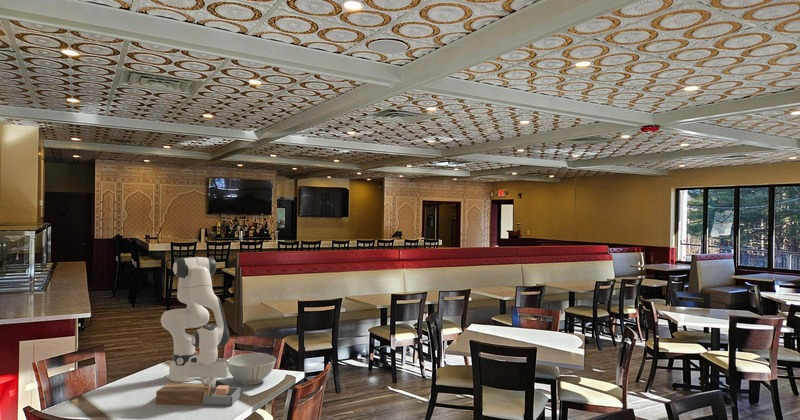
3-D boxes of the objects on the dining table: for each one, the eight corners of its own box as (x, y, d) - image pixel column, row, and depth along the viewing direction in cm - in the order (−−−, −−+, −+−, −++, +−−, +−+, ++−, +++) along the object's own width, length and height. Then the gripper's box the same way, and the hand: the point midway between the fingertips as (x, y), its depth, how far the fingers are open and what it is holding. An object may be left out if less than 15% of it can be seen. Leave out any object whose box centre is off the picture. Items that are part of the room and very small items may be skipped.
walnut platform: (168, 394, 270) (168, 382, 270) (211, 395, 270) (212, 383, 270) (155, 404, 256) (156, 391, 256) (201, 405, 256) (202, 392, 256)
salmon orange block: (219, 391, 265) (219, 385, 265) (229, 391, 265) (229, 385, 265) (215, 394, 260) (215, 388, 260) (225, 394, 260) (225, 388, 260)
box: (212, 395, 270) (213, 386, 270) (240, 396, 270) (240, 387, 270) (202, 405, 256) (202, 395, 256) (231, 406, 256) (231, 396, 256)
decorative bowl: (268, 390, 281) (268, 367, 281) (217, 388, 281) (218, 365, 281) (280, 375, 307) (281, 354, 308) (234, 373, 308) (235, 352, 308)
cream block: (225, 391, 265) (225, 397, 265) (215, 391, 265) (215, 397, 265) (222, 394, 260) (222, 400, 260) (212, 394, 260) (212, 400, 260)
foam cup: (198, 392, 274) (198, 367, 274) (199, 387, 282) (200, 362, 283) (217, 391, 276) (218, 366, 276) (218, 386, 285) (219, 361, 285)
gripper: (231, 356, 266) (230, 384, 266) (190, 355, 266) (189, 383, 266) (227, 360, 260) (226, 388, 260) (185, 359, 260) (184, 387, 260)
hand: (207, 385), depth 263 cm, fingers closed
